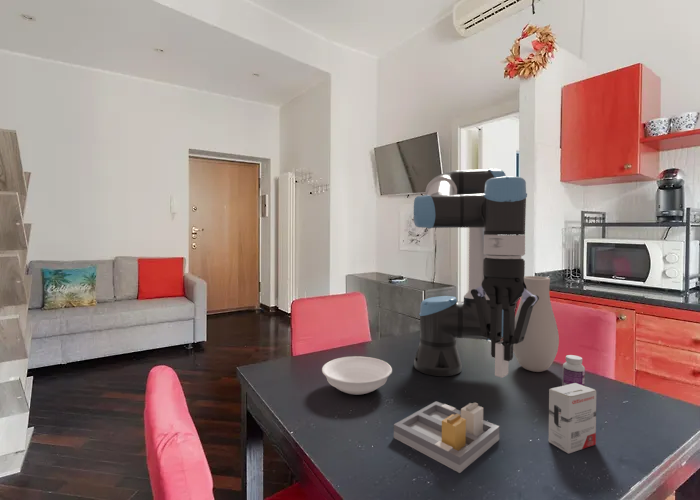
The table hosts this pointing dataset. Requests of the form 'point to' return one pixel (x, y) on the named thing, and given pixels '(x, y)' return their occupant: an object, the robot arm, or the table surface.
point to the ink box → (572, 417)
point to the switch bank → (427, 436)
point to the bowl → (357, 374)
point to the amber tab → (454, 431)
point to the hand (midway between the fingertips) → (501, 374)
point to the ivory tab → (473, 418)
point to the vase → (538, 329)
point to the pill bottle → (573, 371)
